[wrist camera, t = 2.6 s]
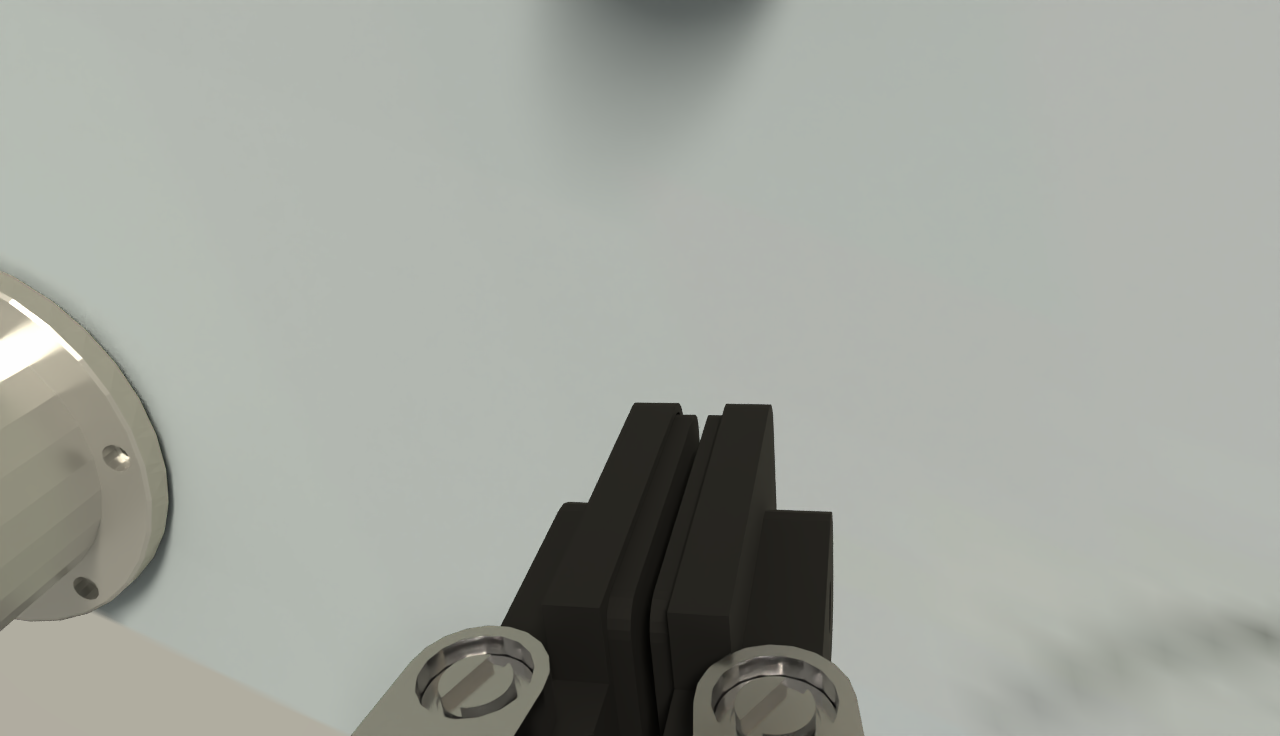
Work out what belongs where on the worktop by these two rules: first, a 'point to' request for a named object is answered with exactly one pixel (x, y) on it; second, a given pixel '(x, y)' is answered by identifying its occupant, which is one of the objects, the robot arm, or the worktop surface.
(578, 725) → the robot arm
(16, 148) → the worktop surface
